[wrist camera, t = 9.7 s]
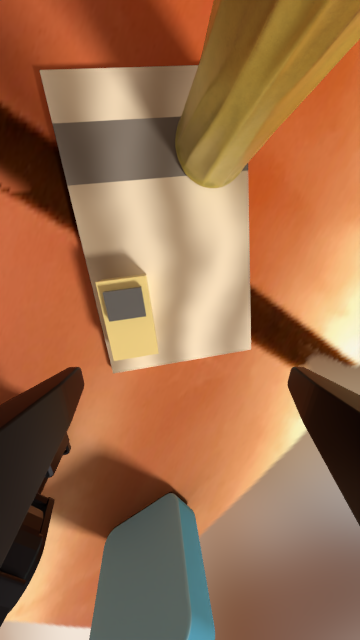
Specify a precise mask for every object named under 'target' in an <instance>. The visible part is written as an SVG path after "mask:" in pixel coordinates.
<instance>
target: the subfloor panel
mask: <svg viewBox="0 0 360 640" xmlns="http://www.w3.org/2000/svg"><path fill="white" fill-rule="evenodd" d="M197 68H198V65H189V66H156V67H123V68H90V69H56V70H40V75H41V79H42V83H43V87H44V91H45V95H46V99H47V103H48V107H49V112H50V116H51V120H52V124H53V128H54V132H55V136H56V140H57V144H58V149H59V153H60V157H61V161H62V165H63V169H64V173H65V177H66V181H67V186H68V190H69V194H70V198H71V202H72V206H73V210H74V214H75V218H76V223H77V227H78V231H79V235H80V239H81V243H82V247H83V251H84V255H85V260H86V264H87V268H88V272H89V276H90V280H91V284H92V288H93V292H94V297H95V301H96V305H97V309H98V313H99V317H100V321H101V325H102V329H103V334H104V338H105V342H106V346H107V350H108V354H109V358H110V362H111V366H112V371H113V373H119V372H124V371H130V370H136V369H142V368H147V367H153V366H159V365H165V364H170V363H176V362H182V361H188V360H193V359H199V358H205V357H211V356H216V355H222V354H228V353H234V352H239V351H245V350H251V317H250V256H249V195H248V163H247V164H246V165H245V167H244V168H243V170H242V171H241V173H240V174H239V175H238V176H237V177H236V178H235V179H234V180H233V181H232V182H231V183H229V184H227V185H225V186H223V187H220V188H206V187H202V186H200V185H198V184H196V183H195V182H193V181H192V180H191V179H190V178H189V177H188V176H187V175H186V174H185V172H184V170H183V169H182V167H181V164H180V162H179V160H178V157H177V153H176V148H175V138H176V131H177V126H178V123H179V121H180V119H181V116H182V113H183V110H184V106H185V103H186V100H187V98H188V95H189V92H190V89H191V86H192V83H193V80H194V77H195V74H196V71H197ZM142 274H147V281H148V287H149V293H150V299H151V305H152V311H153V317H154V324H155V330H156V336H157V342H158V352H159V354H153V355H147V356H142V357H136V358H130V359H124V360H118V361H114V359H113V355H112V351H111V346H110V342H109V338H108V334H107V330H106V325H105V321H104V317H103V313H102V308H101V304H100V300H99V296H98V292H97V287H96V283H95V282H97V281H100V280H103V279H111V278H119V277H126V276H134V275H142Z"/></svg>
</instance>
